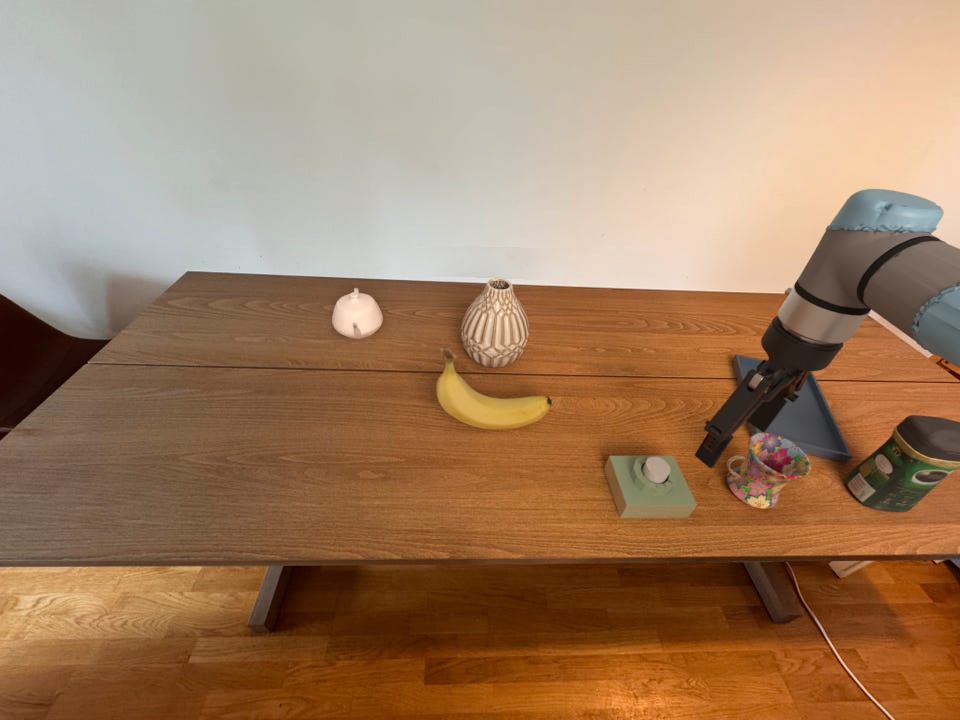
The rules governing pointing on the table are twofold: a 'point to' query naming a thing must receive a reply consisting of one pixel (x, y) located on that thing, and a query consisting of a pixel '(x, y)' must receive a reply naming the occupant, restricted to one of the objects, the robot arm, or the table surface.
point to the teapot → (357, 315)
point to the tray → (803, 418)
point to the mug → (766, 469)
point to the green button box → (648, 489)
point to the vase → (495, 326)
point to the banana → (485, 402)
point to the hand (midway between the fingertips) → (731, 442)
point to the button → (656, 470)
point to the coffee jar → (907, 464)
